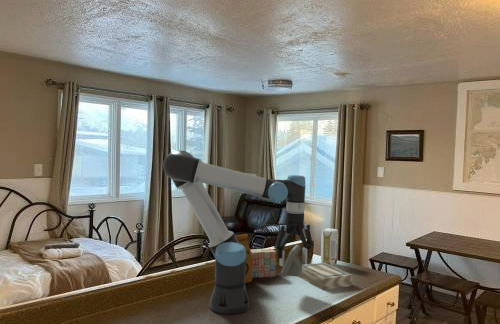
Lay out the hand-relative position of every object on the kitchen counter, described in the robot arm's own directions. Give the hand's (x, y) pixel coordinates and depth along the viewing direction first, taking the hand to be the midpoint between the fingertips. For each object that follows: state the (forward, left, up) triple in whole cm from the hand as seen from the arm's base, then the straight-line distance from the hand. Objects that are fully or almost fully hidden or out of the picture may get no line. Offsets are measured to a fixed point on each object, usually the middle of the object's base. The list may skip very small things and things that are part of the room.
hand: (293, 264), depth 169 cm
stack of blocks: (-5, +29, -13) cm, 32 cm away
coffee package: (-16, +22, -13) cm, 30 cm away
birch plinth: (+23, +11, -13) cm, 29 cm away
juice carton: (+42, +33, -13) cm, 55 cm away
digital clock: (-1, +1, -4) cm, 4 cm away
